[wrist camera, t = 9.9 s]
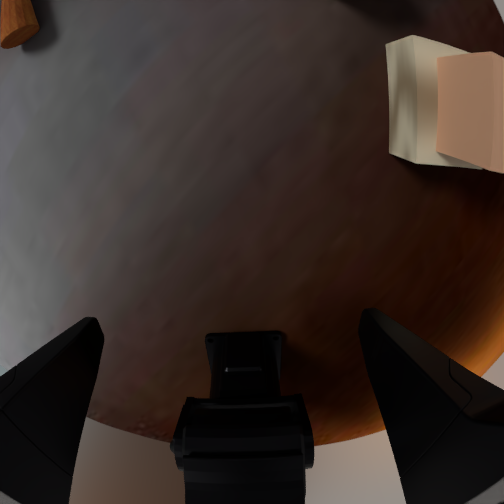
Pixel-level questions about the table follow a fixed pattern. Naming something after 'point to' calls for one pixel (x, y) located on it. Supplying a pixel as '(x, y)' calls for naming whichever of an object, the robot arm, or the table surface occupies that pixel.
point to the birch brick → (416, 100)
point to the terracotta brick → (472, 109)
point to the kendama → (17, 22)
